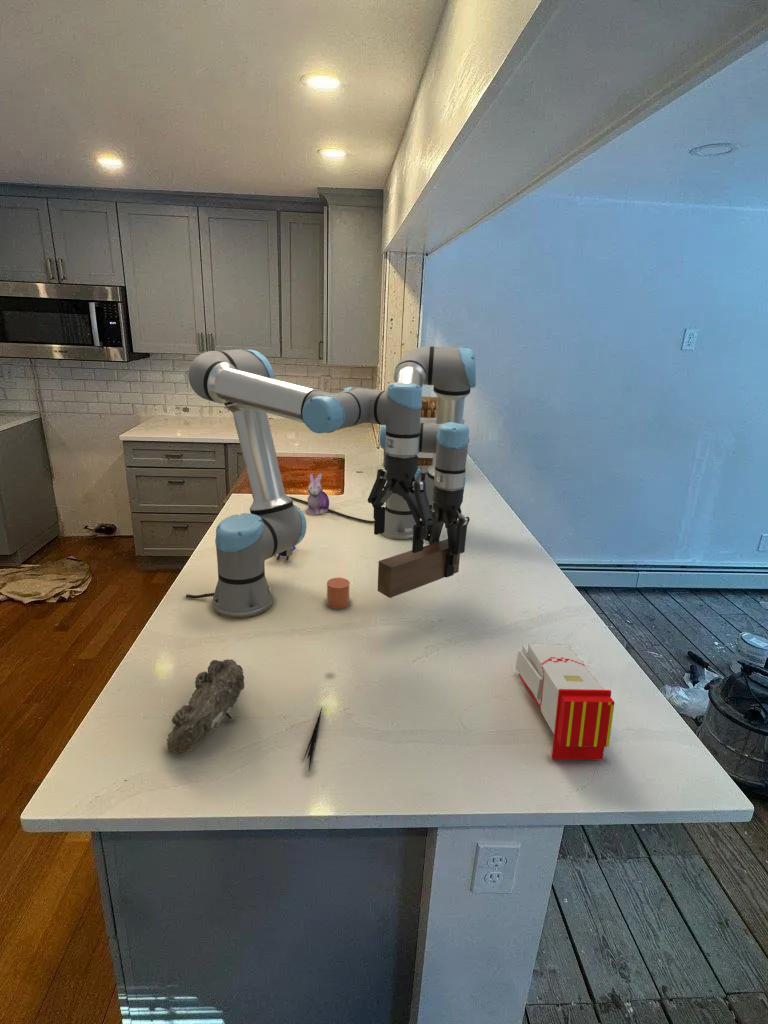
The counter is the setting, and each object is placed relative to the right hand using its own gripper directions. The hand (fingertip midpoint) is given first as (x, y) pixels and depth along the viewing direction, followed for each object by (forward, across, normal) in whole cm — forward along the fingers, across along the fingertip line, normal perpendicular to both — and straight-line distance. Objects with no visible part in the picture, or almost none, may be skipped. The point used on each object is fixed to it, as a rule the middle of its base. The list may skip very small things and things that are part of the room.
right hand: (441, 571), depth 148 cm
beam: (0, 0, -8) cm, 8 cm away
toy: (+11, +43, -11) cm, 46 cm away
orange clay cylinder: (+11, -18, -20) cm, 29 cm away
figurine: (+11, -80, +16) cm, 82 cm away
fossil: (+11, +4, -66) cm, 67 cm away
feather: (+11, +17, -50) cm, 54 cm away
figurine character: (+11, -53, -15) cm, 56 cm away
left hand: (-12, 0, -16) cm, 20 cm away
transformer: (+11, -98, +87) cm, 132 cm away
